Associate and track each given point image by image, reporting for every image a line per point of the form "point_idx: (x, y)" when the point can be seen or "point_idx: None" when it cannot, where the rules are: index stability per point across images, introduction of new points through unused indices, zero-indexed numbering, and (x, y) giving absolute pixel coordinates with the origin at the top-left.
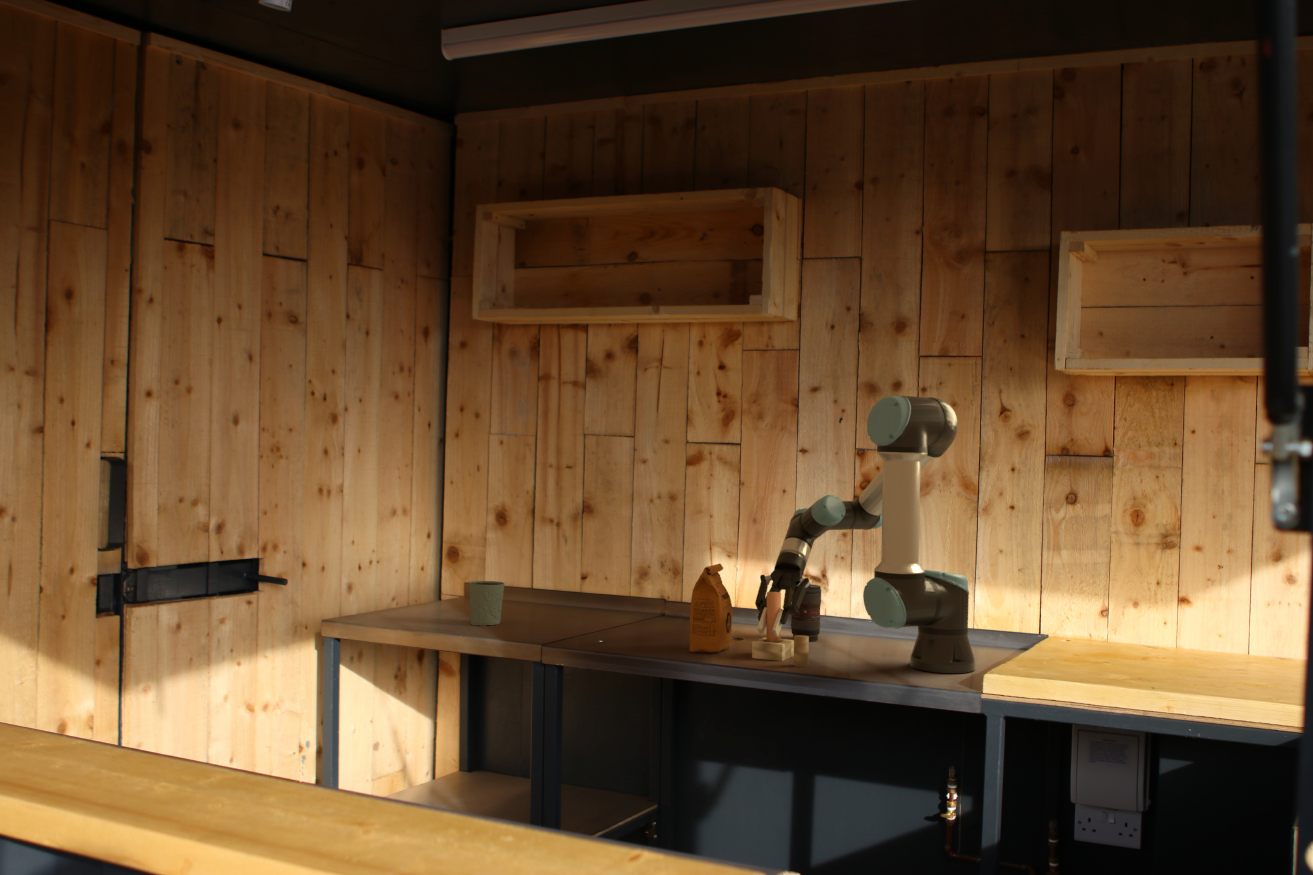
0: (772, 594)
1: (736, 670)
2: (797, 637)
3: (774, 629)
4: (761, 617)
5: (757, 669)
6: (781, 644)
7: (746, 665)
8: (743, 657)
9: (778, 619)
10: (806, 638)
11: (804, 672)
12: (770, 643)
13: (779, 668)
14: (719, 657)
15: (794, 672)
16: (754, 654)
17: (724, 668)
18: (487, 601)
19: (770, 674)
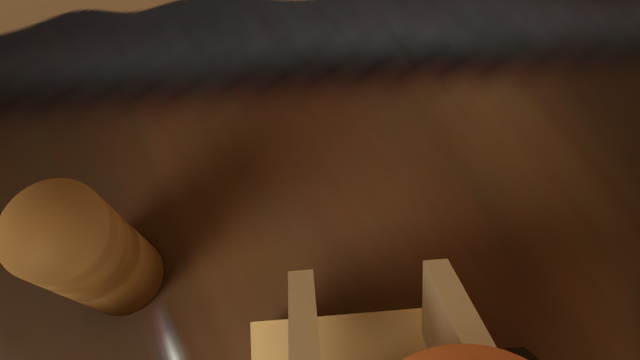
0: (426, 350)
1: (337, 15)
2: (67, 178)
3: (295, 272)
4: (478, 328)
5: (273, 76)
6: (260, 328)
7: (358, 124)
8: (490, 301)
9: (291, 341)
10: (8, 213)
11: (60, 134)
12: (339, 318)
13: (196, 149)
14: (583, 222)
15: (103, 110)
16: None
17: (399, 21)
18: None
19: (182, 23)
